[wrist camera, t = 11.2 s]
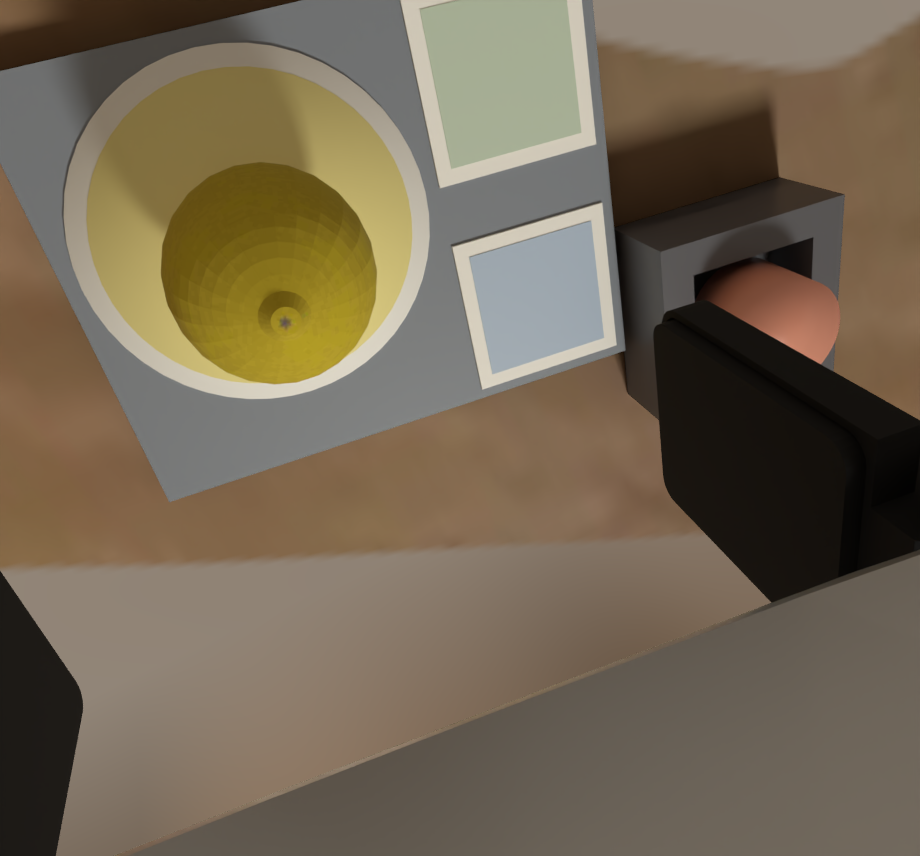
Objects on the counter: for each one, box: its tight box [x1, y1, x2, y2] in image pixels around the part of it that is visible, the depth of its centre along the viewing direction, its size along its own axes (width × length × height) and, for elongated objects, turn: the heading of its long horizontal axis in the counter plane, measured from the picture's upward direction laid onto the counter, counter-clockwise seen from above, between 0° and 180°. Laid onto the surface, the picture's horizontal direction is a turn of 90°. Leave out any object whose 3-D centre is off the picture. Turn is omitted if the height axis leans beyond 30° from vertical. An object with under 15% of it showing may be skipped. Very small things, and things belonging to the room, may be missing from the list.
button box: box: [614, 177, 845, 420], centre depth 29 cm, size 7×7×4 cm
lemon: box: [161, 162, 377, 384], centre depth 20 cm, size 6×6×8 cm
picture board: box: [0, 0, 626, 502], centre depth 25 cm, size 18×14×1 cm
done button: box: [695, 257, 840, 364], centre depth 27 cm, size 4×4×3 cm
